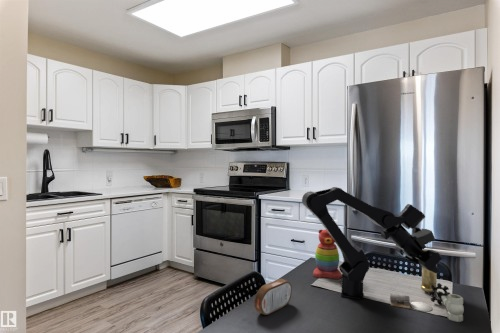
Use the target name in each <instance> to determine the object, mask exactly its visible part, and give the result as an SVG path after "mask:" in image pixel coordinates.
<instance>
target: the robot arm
mask: <svg viewBox="0 0 500 333" xmlns="http://www.w3.org/2000/svg"><path fill="white" fill-rule="evenodd" d="M335 201H338V202H340V203H342V204H343V205H346V206H347V207H349V208H351V209H353V210H355V211H357V212H359V213H360V214H363V216H364V217H366V218H367V219H368V220H369V221H371V222H372V223H373V224H374V225H376V226H378V227H381V228H383V229H381V230H380V232H381V233H380V238H382V239H384V240H388V239H389V238H390V239H391V241H392V242H394V243H395V252H396V253H397V254H398V255H400V256H402V257H403V256H404V255H405V256H404V258H405V259H407V260H408V261H410V262H413V263H414V264H417V265H418V266H419V267H421V268H422V267H423V268H425V269H427V270H429V271H432V272H434V273H436V274H439V272H440V270H439V269H438V264H439V263H440V262H441V261H442V259H443V256H442V255H441V253H440V252H438V251H436V250H434V249H425V248H427V246H426V245H427V244H429V243H431V242H434V241H436V238H435V236H434V233H433V231H432V230H431V229H427V228H419V227H418V225H419V224H420V223H421V222H423V220H424V219H425V218H426V215H425V214H424V213H423V212H422V211H421V210H419V209H418V208H416V207H415V206H414V205H412V204H409V203H407V204H406V205H405V206H404V208H402V210H401V211H400V212H399V213H398V214H396V213H393V212H391V211H389V210H385V209H382V208H379V207H376V206H373V205H371V204H369V203H367V202H366V201H363V200H362V199H360V198H358V197H356V196H354V195H352V194H351V193H348V192H346V191H344V189H342V188H341V187H337V186H334V187H330V188H328V189H327V188H326V189H322V190H318V191H315V192H314V191H307V192H305V193H304V194H303V196H302V197H301V203H302V205H303V206H304V207H305V208H306V209H307V210H308V211H309V212H310V213H312V215H314V216H315V217H316V218H317V219H318V221H319V222H320V224H321V225H322V226H323V228H324V230H327V232H328V233H329V234H330V236H331V237H332V239H333V240H334V241H335V243H334V244H335V245H336V246H337V248H339V250H340V252H341V254H342V258H343V260H344V261H342V263H341V264H340V265H338V269H339V271H340V272H341V276H342V277H341V291H340V297H344V298H350V299H357V300H362V296H364V280H365V277H366V275H367V273H368V271H369V270H370V266H371V265H370V262H369V260H370V259H369V258H368V257H367V256H366V254H365V253H364V251H363V249H362V248H360V247H359V246H357V245H352V243H351V242H350V240H349V239H348V238H347V237H346V235H345V234H344V233H343V231H342V230H341V228H340V227H339V225H338V224H337V223H336V221H335V220H334V218H333V217H332V215H331V214H330V212H329V209H328V206H327V205H330V204H332V203H334V202H335ZM407 229H408V230H409V229H411V231H412V234H411V233H410V232H409V231H408V230H407ZM423 250H427V251H423ZM436 265H437V266H436Z"/></svg>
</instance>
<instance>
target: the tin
mask: <svg viewBox="0 0 500 333" xmlns="http://www.w3.org/2000/svg"><path fill="white" fill-rule="evenodd" d="M292 292H293V286H292V283H291V282H290V281H288V280H287V279H284V278H278V279H275V280H273V281H271V282H268V283H265V284H263V285H262V286H261V287H259V289H258V290H257V292H256V294H255V297H254V302H253V304H254V309H255V311H256V312H257V313H260V314H261V315H263V316H268V315H270V314H273V313H275V312H276V311H278V310H280V309H282V308H285V307H286V306H287V305H288V304H289V303H290V300H291V298H292V294H293V293H292Z"/></svg>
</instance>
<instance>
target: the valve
mask: <svg viewBox="0 0 500 333" xmlns="http://www.w3.org/2000/svg"><path fill="white" fill-rule="evenodd" d="M442 286H443V285H442V284H441V283H439V282H438V283H437V285H436V287H434V286H433V285H432V286H431V289H432V292H431V291H429V292H427V295H429V296H430V300H431V302H432V303H435V301H436V303H437V304H438V305H440V306H441V305H444V307H445V308H446V310H447V311H446V317H447V319H448V320H449V321H452V322H456V323H460V322H464V315H463V314H464V311H465V309H464V308H465V307H464V305H463V304H464V297H462V296H461V295H459V294H455V293H450V292H449V290H450V288H449V287H448V286H447V285H444V286H443V287H442ZM436 290H437V292H436ZM440 290H443V292H442V291H440ZM435 294H436V296H435Z"/></svg>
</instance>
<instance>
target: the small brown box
mask: <svg viewBox="0 0 500 333" xmlns="http://www.w3.org/2000/svg"><path fill="white" fill-rule="evenodd" d="M410 299H411V298H410V295H405V294H396V293H390V294H389V302H390V306H391V307H396V308H397V307H398V308H404V309H411V306H410V303H411V302H410Z"/></svg>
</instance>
